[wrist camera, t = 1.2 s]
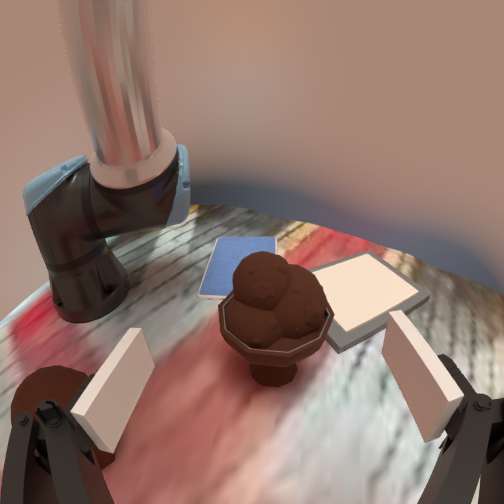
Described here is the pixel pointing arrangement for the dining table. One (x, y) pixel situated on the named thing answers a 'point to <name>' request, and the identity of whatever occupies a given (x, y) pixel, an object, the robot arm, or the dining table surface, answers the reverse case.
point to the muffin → (53, 397)
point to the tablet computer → (229, 263)
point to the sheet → (362, 291)
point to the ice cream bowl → (274, 316)
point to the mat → (365, 331)
